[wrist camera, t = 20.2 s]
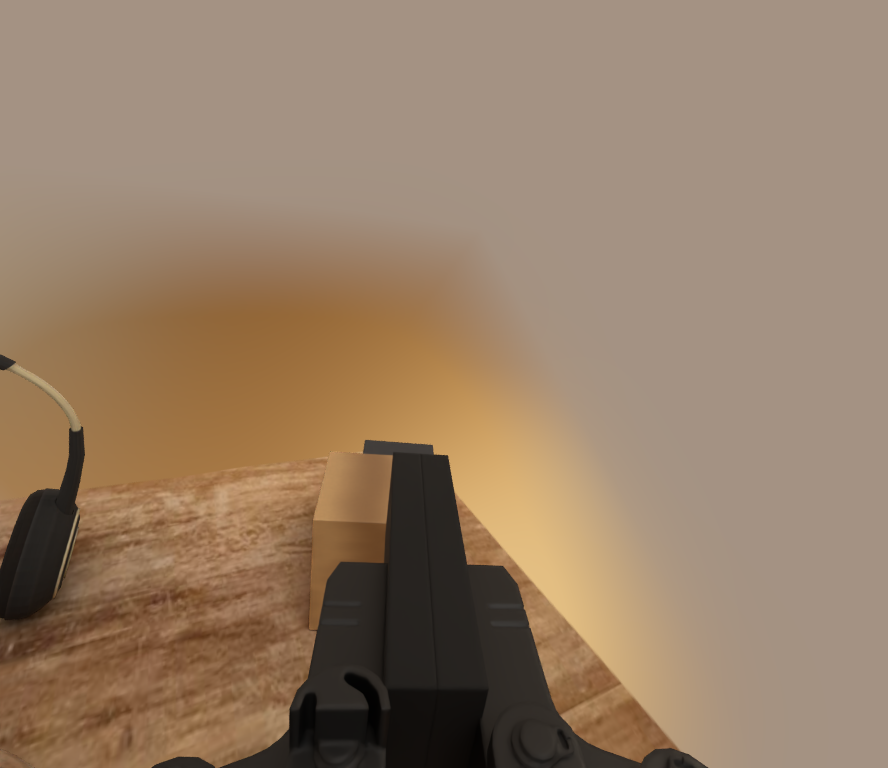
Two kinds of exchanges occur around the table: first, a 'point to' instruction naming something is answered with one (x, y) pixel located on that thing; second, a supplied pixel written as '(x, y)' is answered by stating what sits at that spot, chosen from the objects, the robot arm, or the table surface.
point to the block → (395, 448)
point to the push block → (348, 518)
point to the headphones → (42, 526)
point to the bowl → (12, 761)
